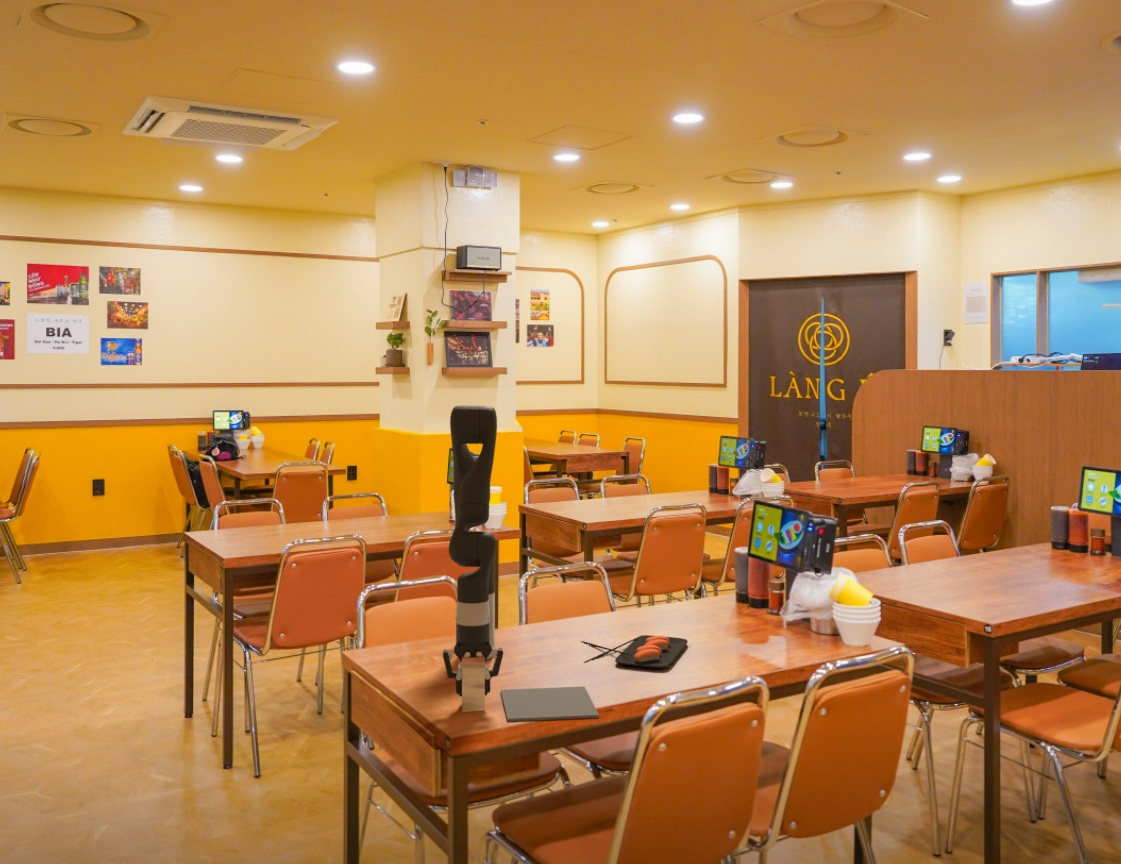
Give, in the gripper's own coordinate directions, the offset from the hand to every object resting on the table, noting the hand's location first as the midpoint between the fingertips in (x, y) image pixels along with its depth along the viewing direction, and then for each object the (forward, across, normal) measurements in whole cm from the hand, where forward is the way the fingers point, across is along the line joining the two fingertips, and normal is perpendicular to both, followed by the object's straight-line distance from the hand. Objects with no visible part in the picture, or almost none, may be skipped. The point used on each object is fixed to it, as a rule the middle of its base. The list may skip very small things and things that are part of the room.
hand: (472, 694), depth 220 cm
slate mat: (+3, -17, 0) cm, 17 cm away
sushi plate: (+4, -43, -40) cm, 59 cm away
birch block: (+3, 0, 0) cm, 3 cm away
